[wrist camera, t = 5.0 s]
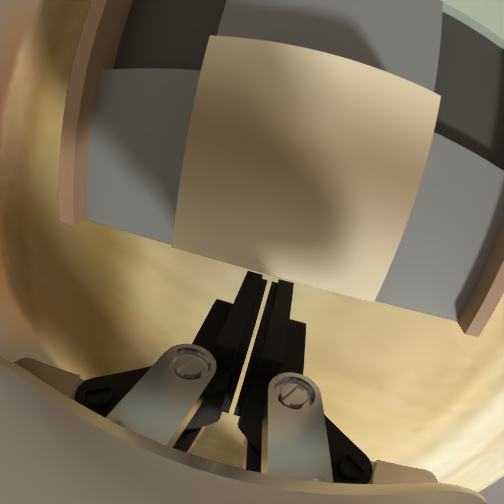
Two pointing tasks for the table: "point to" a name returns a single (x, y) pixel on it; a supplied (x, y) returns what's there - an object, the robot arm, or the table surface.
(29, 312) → the table surface
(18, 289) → the table surface
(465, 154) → the box
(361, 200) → the birch block
